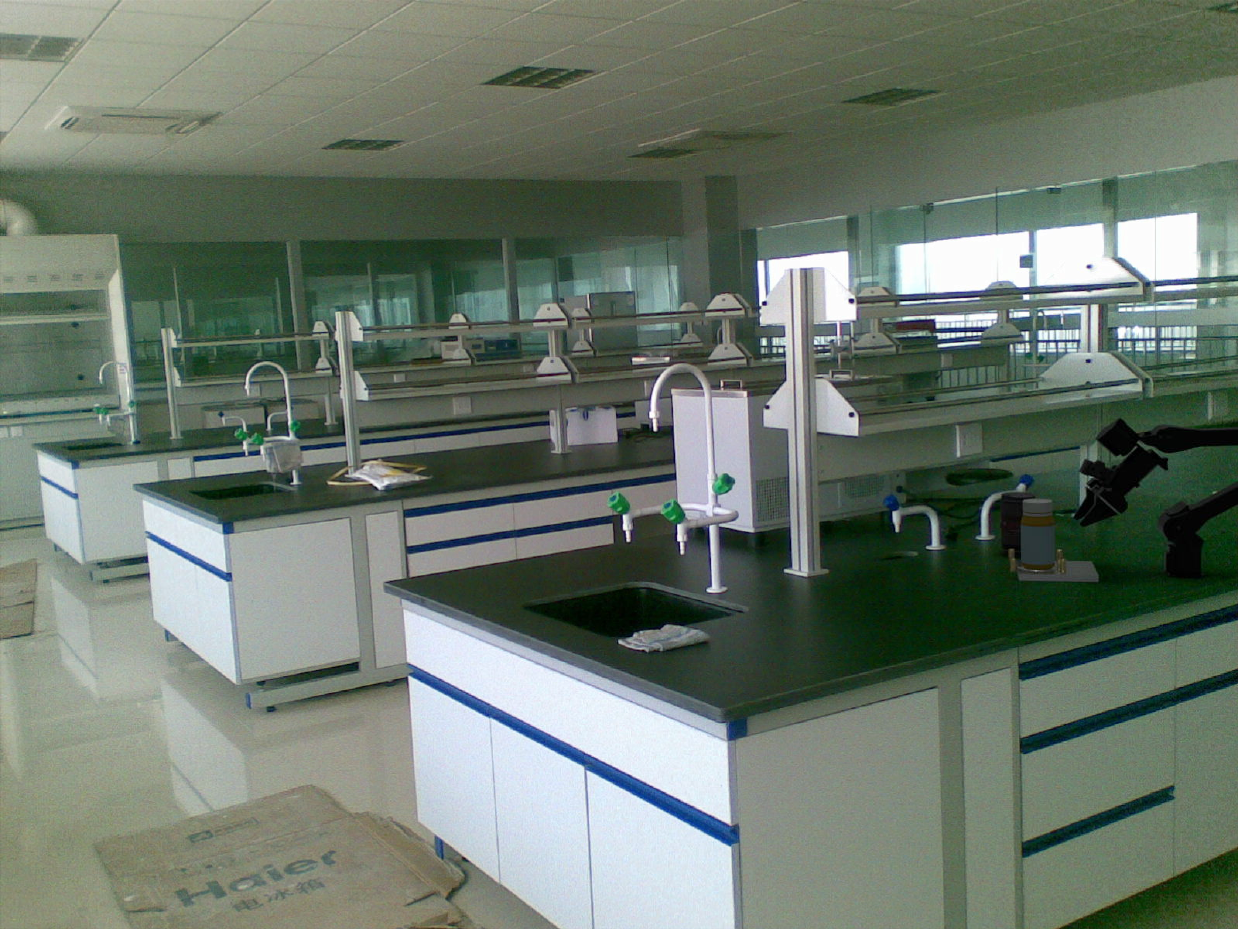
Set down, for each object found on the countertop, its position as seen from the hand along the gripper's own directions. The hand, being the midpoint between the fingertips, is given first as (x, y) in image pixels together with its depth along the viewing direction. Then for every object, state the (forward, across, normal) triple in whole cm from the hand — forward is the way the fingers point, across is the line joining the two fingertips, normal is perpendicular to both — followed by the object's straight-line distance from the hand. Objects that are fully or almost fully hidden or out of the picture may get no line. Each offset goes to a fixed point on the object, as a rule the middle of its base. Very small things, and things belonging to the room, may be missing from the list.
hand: (1077, 522), depth 239 cm
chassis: (+12, 0, +5) cm, 12 cm away
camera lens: (+16, -20, 0) cm, 25 cm away
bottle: (+13, 0, +1) cm, 13 cm away
